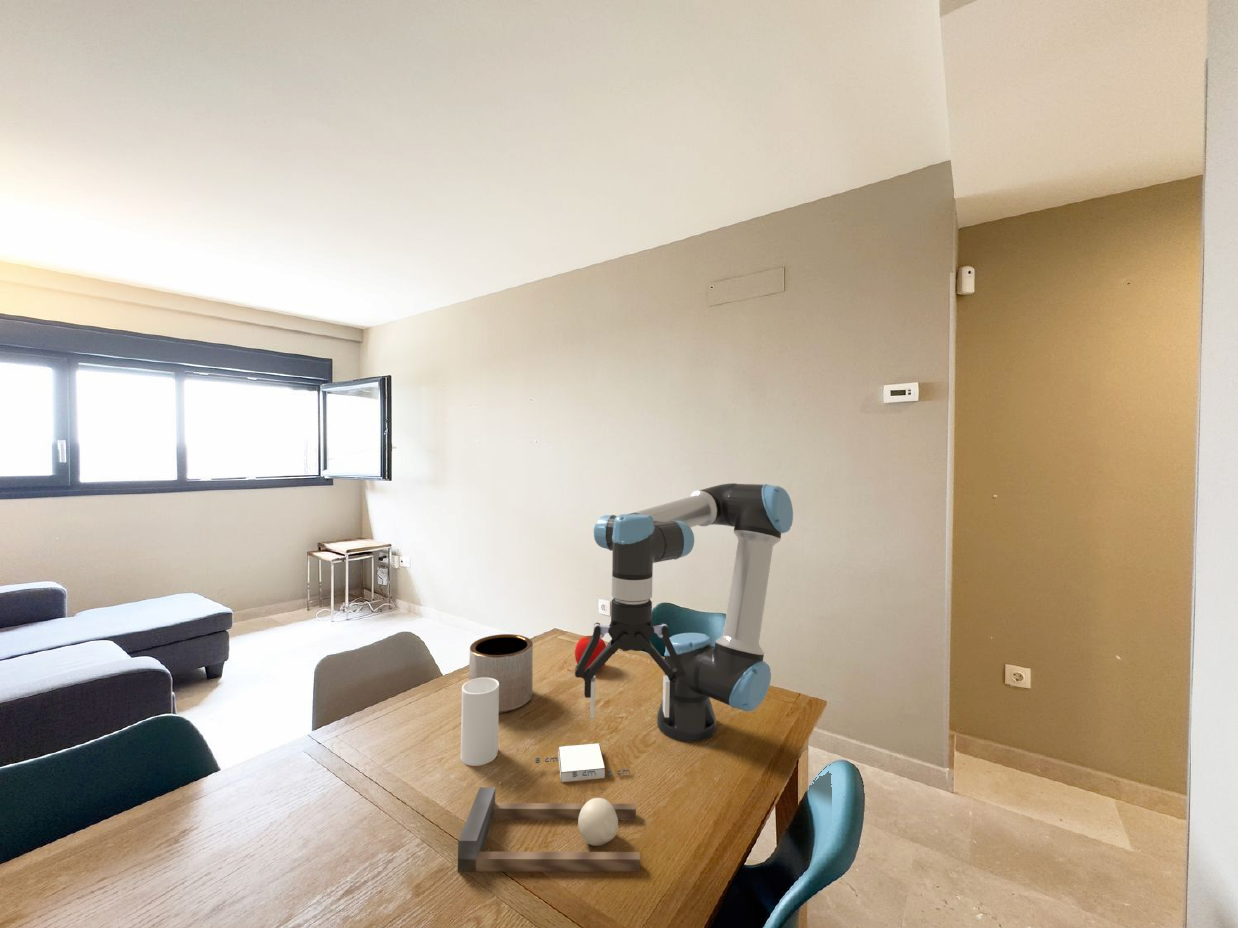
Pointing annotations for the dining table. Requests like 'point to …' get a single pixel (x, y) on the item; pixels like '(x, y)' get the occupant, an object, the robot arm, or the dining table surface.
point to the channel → (534, 861)
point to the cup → (479, 721)
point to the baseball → (597, 822)
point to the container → (581, 762)
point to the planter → (505, 667)
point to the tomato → (582, 646)
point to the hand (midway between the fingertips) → (629, 714)
